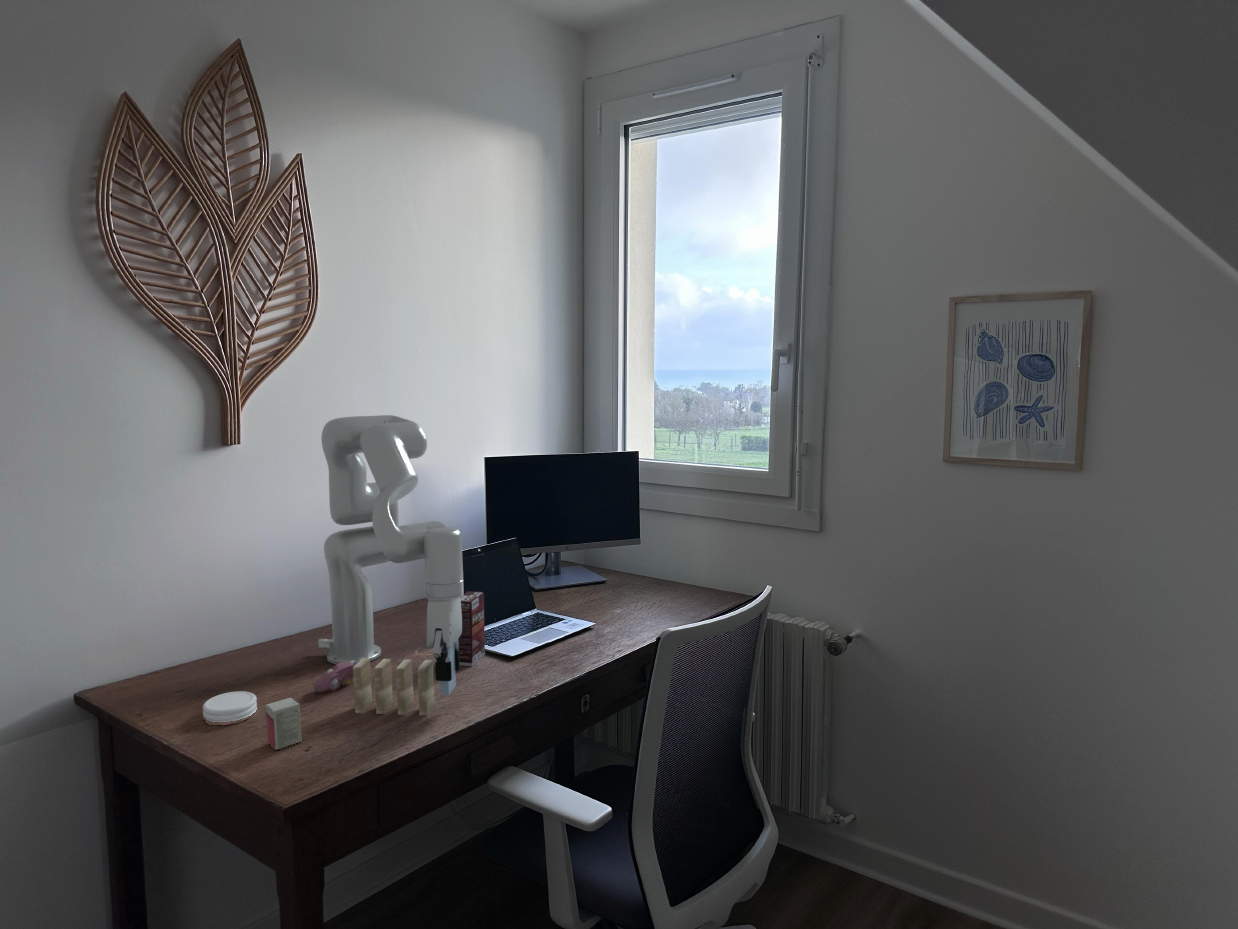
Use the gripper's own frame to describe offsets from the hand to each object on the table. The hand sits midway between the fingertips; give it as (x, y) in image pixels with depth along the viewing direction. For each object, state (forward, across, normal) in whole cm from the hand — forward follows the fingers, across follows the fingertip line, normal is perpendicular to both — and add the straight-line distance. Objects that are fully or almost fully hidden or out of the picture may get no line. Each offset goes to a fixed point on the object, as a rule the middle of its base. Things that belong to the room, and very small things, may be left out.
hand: (447, 674), depth 166 cm
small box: (+8, +16, -27) cm, 33 cm away
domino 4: (+8, 0, -5) cm, 9 cm away
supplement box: (+8, -29, -3) cm, 30 cm away
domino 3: (+8, 0, -9) cm, 12 cm away
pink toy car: (+8, -11, -28) cm, 31 cm away
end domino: (+3, 0, 0) cm, 3 cm away
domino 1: (+8, 0, -18) cm, 20 cm away
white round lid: (+8, +5, -44) cm, 45 cm away
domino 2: (+8, 0, -14) cm, 16 cm away
